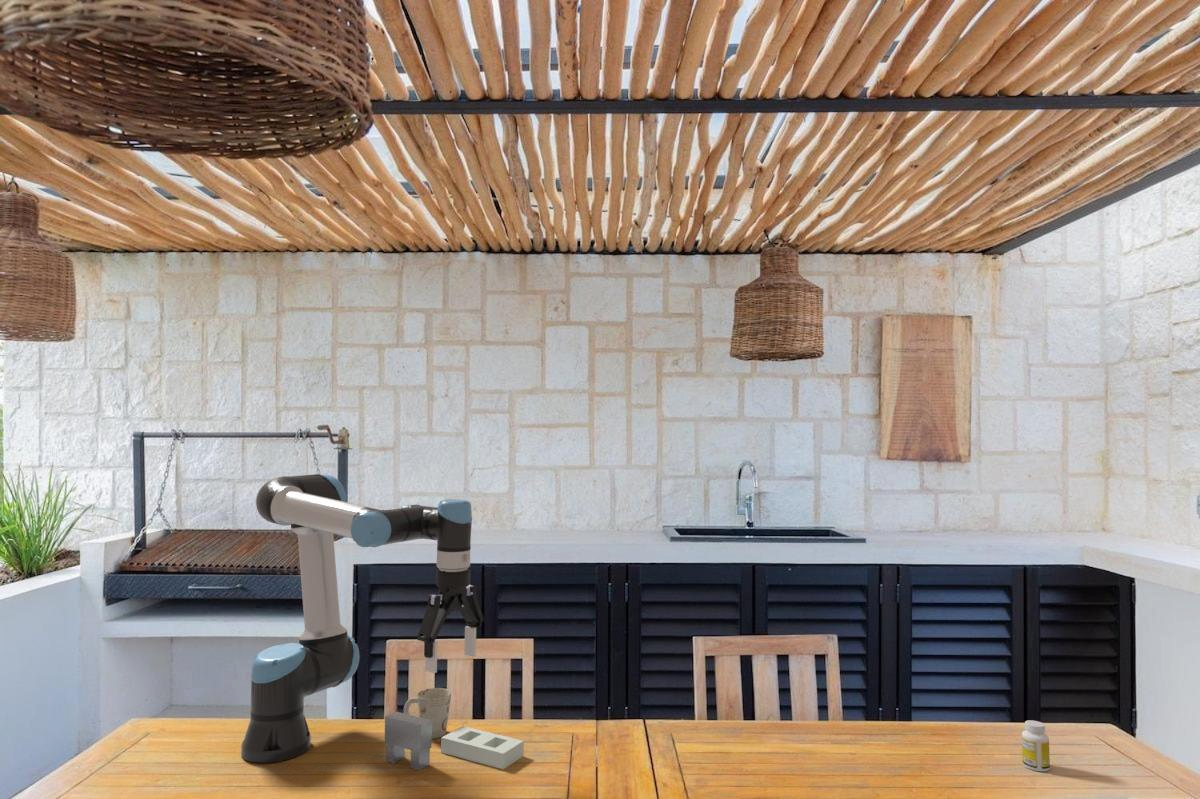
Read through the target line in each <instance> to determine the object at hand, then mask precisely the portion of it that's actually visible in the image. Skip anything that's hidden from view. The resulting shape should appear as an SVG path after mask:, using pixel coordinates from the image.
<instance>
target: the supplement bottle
mask: <svg viewBox="0 0 1200 799" xmlns="http://www.w3.org/2000/svg"><path fill="white" fill-rule="evenodd" d="M1024 727H1025V730H1023V731H1022V732H1021V750H1022V753H1021V754H1022V755H1021V756H1022V765H1023V766H1024V767H1025V768H1026V769H1028V770H1032V771H1035V772H1048V771H1049V770H1050V769H1051V768H1050V767H1051V765H1050V764H1051V762H1050V760H1051V758H1050V739H1049V738H1050V737H1049V736H1048V735H1047V733H1045V732H1046V725H1045V723H1044V722H1041V721H1038V720H1033V719H1031V720H1026V721H1024Z"/></svg>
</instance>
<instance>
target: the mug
mask: <svg viewBox="0 0 1200 799" xmlns="http://www.w3.org/2000/svg"><path fill="white" fill-rule="evenodd" d="M416 696H417V697H410V698H409V699H407V701H406V702H405V703H404V706H403V713H404V714H408V715H410V712H409V708H410V707H411V705H412V704H417V707H418V708H417V709H418V717H420V718H424V719H428V720H432V739H438V738H441V737H443V736H445V735H447V734H446V733H447V728H448V721H449V713H450V707H451V706H450V705H451V698H452V691H451V689H447V688H443V687H431V688H425V689H423V690H420V691H419V692H418V693H417V695H416Z"/></svg>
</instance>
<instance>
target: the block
mask: <svg viewBox="0 0 1200 799" xmlns="http://www.w3.org/2000/svg"><path fill="white" fill-rule="evenodd" d="M440 738H441V739H440V740H441V742H440V743H441V745H440V753H441V754H445V755H449V756H452V757H456V758H460V759H463V760H467V761H471V762H474V763H478V764H481V765H485V766H489V767H492V768H497V769H500V770H505V769H506V768H508V767H510V766H511V765H512V764H514V763H515V762H517V761H518V760H520V759H522V758H523V757H524V746H525V744H524V740H521V739H518V738H514V737H510V736H506V735H501V734H496V733H493V732H488V731H485V730H482V729H481V730H480V729H476V728H472V727H468V726H464V725H462V726H460V727H458V728H456V729H455V730H453V731H451V732H449V733H447V734H445V735H444V736H442V737H440Z"/></svg>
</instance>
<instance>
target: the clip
mask: <svg viewBox="0 0 1200 799" xmlns="http://www.w3.org/2000/svg"><path fill="white" fill-rule="evenodd" d="M432 739H433V738H432V720H428V719H424V718H420V717H419V716H416V715H413V714H409V715H408V714H404V712H401V711H400V712H399V711H395V712H392V713H390V714H388V715H385V716H384V744H385V762H388V763H391V764H396V763H397V762H399V761H401V760H403V759H404V758H405V756H406V755H405V750H408V751H410V769H412V770H415V771H421V770H423V769H425V768H427V767H428V766H430V761H431V760H430V759H431V757H430V756H431V755H430V754H431V748H432V744H433V743H432Z"/></svg>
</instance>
